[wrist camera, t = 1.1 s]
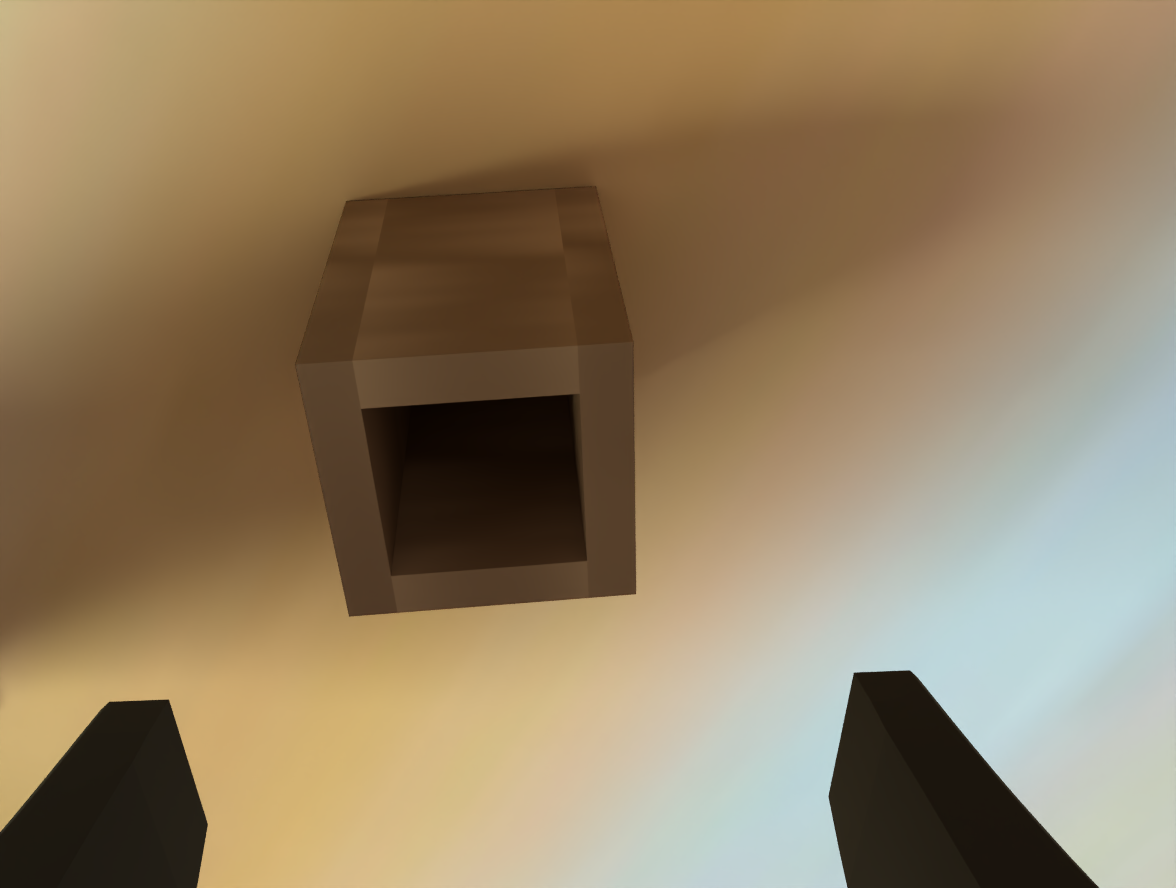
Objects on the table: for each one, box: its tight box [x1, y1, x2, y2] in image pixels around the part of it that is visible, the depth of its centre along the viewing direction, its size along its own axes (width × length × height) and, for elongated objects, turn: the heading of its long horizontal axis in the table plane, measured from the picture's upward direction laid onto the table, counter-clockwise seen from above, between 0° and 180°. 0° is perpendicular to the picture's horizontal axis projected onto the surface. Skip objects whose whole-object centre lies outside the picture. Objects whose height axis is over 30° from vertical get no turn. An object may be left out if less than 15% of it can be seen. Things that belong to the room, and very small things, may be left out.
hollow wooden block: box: [295, 186, 636, 616], centre depth 18 cm, size 4×4×6 cm
